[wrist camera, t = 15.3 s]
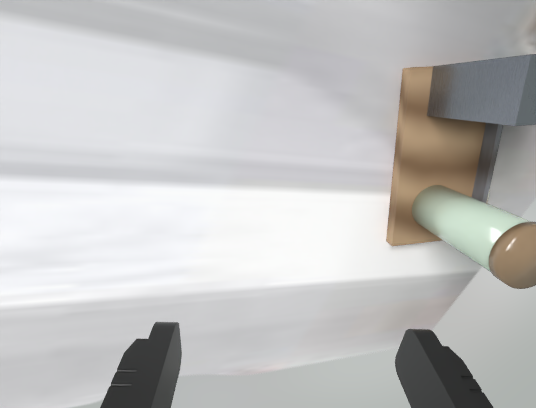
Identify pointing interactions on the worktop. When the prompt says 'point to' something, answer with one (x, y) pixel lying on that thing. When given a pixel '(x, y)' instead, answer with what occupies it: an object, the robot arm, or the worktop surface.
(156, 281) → the worktop surface
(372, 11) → the worktop surface
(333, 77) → the worktop surface
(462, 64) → the tea tin
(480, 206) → the jar
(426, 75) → the shelf
